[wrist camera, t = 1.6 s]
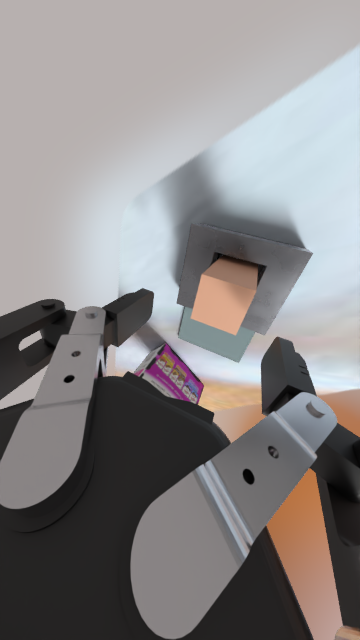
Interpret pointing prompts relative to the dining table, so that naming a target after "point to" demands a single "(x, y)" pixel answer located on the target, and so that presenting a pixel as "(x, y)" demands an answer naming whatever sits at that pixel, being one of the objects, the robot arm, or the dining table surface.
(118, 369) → the dining table surface
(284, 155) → the dining table surface
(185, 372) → the candy bar box
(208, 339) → the mat
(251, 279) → the plug
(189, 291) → the grey socket frame
